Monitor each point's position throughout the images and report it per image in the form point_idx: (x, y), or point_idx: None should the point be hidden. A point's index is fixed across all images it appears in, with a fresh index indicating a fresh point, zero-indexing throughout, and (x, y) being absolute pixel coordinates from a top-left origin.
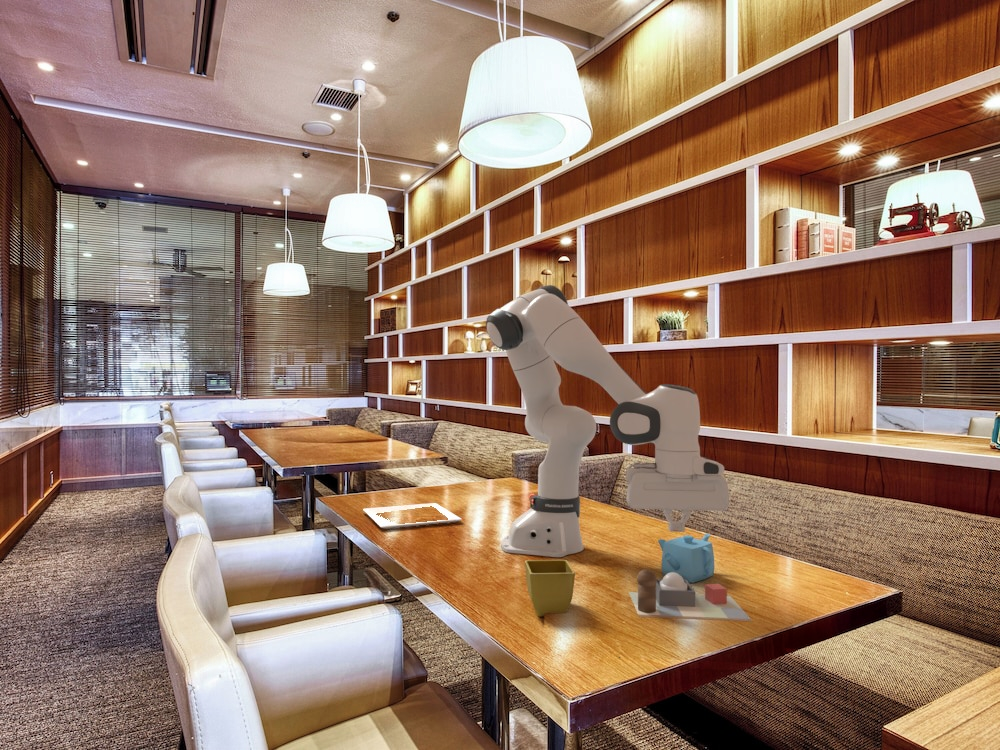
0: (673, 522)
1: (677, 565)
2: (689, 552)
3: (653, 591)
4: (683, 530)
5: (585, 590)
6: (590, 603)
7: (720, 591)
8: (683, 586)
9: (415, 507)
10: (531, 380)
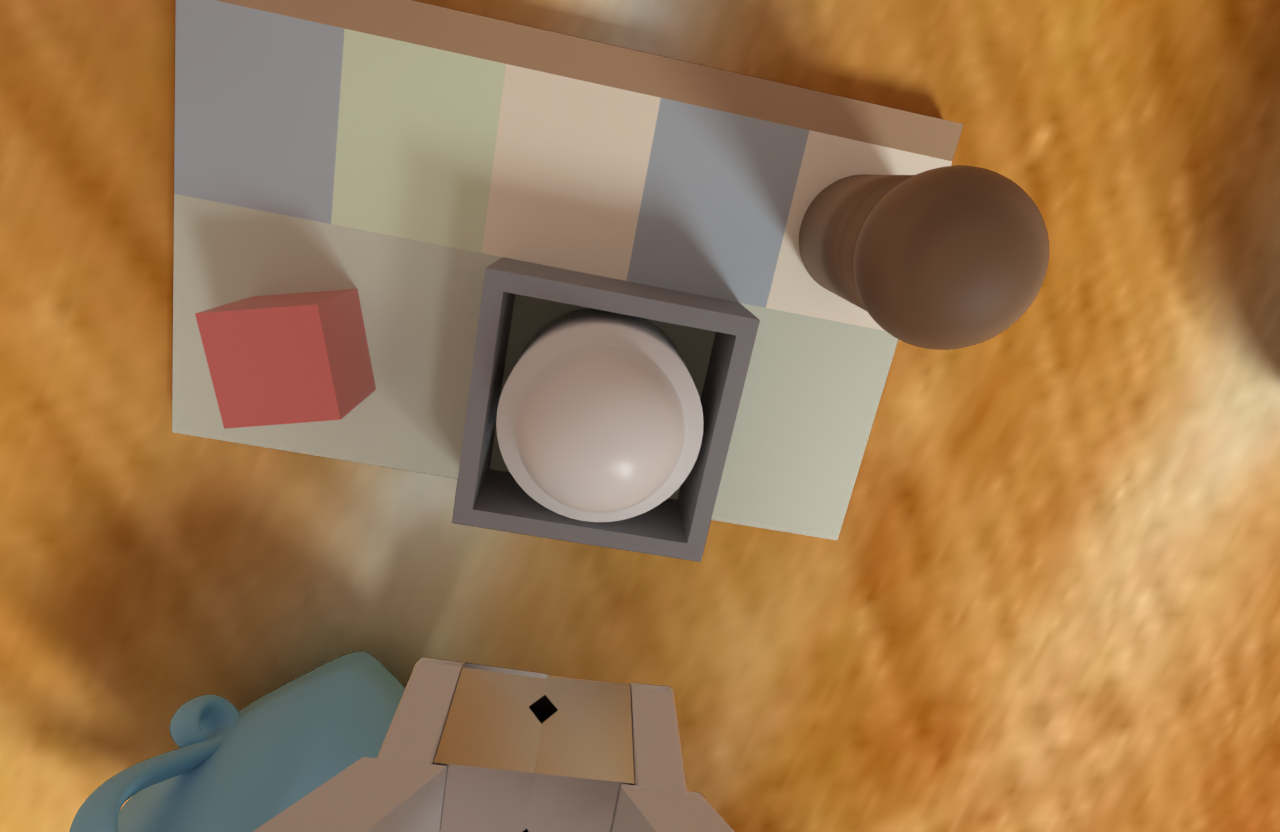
0: (627, 795)
1: None
2: None
3: (889, 182)
4: (441, 663)
5: (1038, 632)
6: (1103, 441)
7: (260, 305)
8: (545, 362)
9: None
10: None
